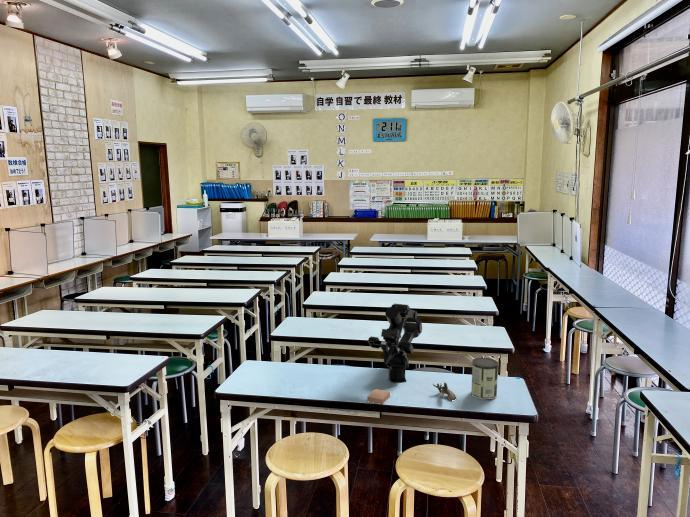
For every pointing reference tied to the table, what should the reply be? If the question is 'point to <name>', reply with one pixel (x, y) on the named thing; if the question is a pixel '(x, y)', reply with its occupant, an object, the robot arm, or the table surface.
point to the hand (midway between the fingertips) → (384, 363)
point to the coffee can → (484, 378)
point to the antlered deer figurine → (446, 391)
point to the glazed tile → (378, 396)
